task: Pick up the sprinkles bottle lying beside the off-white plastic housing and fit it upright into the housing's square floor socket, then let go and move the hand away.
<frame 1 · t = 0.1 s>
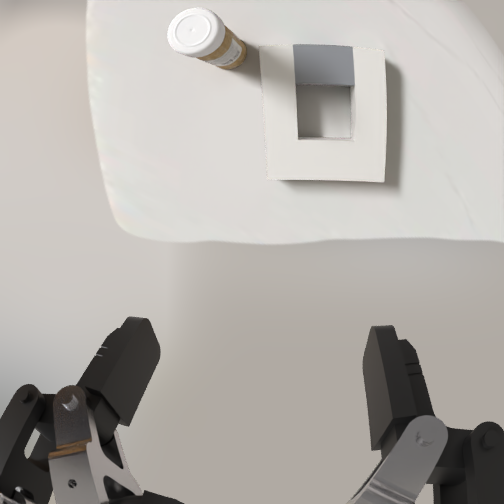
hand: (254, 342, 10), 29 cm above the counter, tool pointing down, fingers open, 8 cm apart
housing: (324, 111, 31), on the counter
sprinkles bottle: (229, 53, 29), on the counter
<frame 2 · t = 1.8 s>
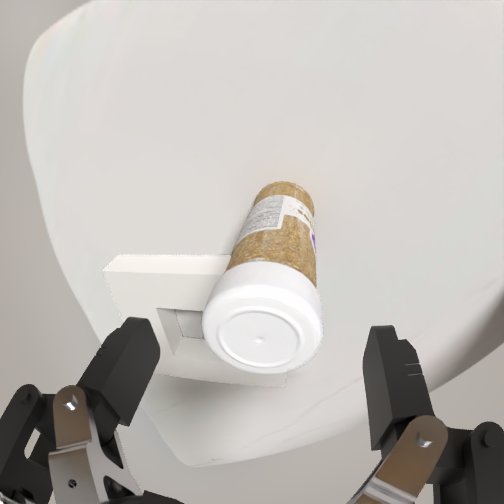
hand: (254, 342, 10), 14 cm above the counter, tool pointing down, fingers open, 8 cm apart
housing: (205, 316, 28), on the counter
sprinkles bottle: (283, 207, 22), on the counter
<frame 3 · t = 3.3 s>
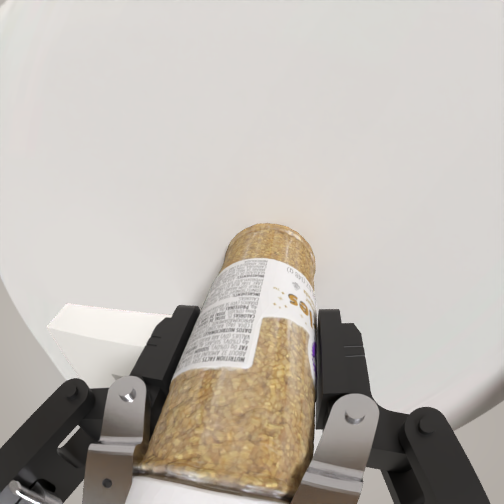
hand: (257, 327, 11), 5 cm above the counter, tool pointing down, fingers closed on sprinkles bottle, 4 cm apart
housing: (176, 377, 21), on the counter
sprinkles bottle: (270, 258, 15), on the counter, touching gripper
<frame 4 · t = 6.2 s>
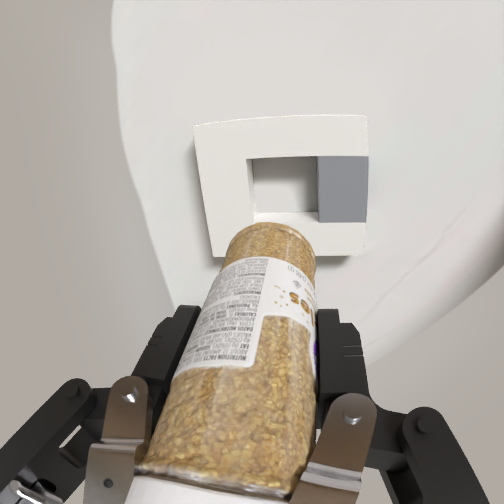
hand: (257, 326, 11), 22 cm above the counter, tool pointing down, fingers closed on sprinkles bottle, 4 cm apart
housing: (285, 182, 29), on the counter
sprinkles bottle: (270, 257, 15), point 17 cm above the counter, touching gripper
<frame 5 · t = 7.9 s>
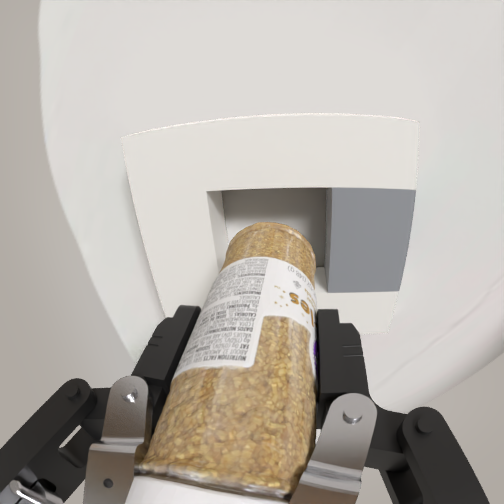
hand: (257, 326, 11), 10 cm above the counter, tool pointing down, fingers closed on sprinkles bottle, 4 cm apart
housing: (275, 223, 19), on the counter
sprinkles bottle: (270, 257, 15), point 5 cm above the counter, touching gripper
when the fingers open (6 cm above the counter, at t = 8.9 s): sprinkles bottle drops 1 cm, resting in housing.
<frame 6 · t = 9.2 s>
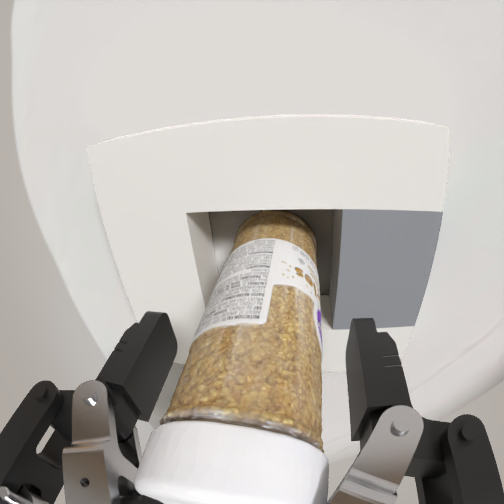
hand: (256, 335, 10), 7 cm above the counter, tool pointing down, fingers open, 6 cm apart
housing: (271, 246, 16), on the counter
sprinkles bottle: (275, 243, 16), resting in housing
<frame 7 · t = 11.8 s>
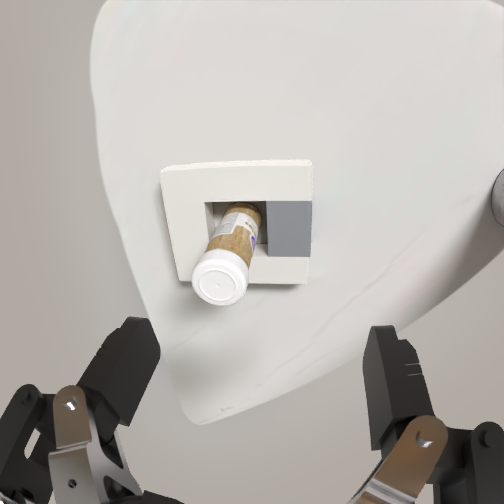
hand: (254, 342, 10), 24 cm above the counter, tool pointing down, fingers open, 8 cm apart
housing: (241, 219, 34), on the counter
sprinkles bottle: (242, 217, 34), resting in housing
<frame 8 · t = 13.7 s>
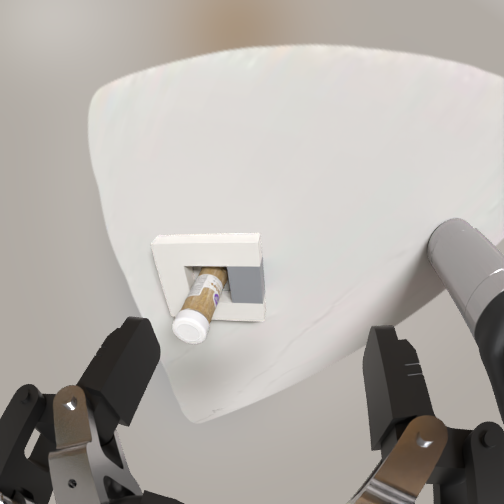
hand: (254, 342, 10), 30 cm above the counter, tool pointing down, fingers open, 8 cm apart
housing: (213, 273, 46), on the counter
sprinkles bottle: (214, 272, 46), resting in housing
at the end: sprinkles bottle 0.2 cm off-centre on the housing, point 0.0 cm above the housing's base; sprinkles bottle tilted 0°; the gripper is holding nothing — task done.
